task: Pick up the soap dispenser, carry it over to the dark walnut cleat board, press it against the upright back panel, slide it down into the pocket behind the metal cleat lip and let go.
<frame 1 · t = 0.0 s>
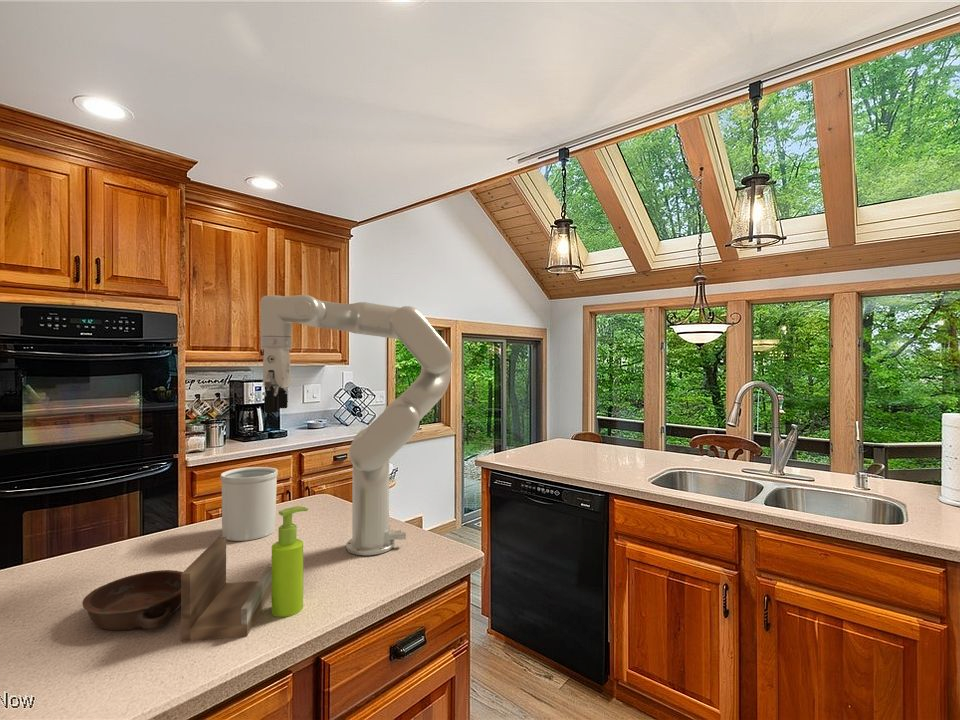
hand: (276, 410, 126), 37 cm above the countertop, tool pointing down, fingers open, 9 cm apart
soap dispenser: (290, 609, 98), on the countertop
utensil holder: (249, 533, 140), on the countertop
dish: (139, 614, 96), on the countertop
cleat board: (231, 612, 96), on the countertop
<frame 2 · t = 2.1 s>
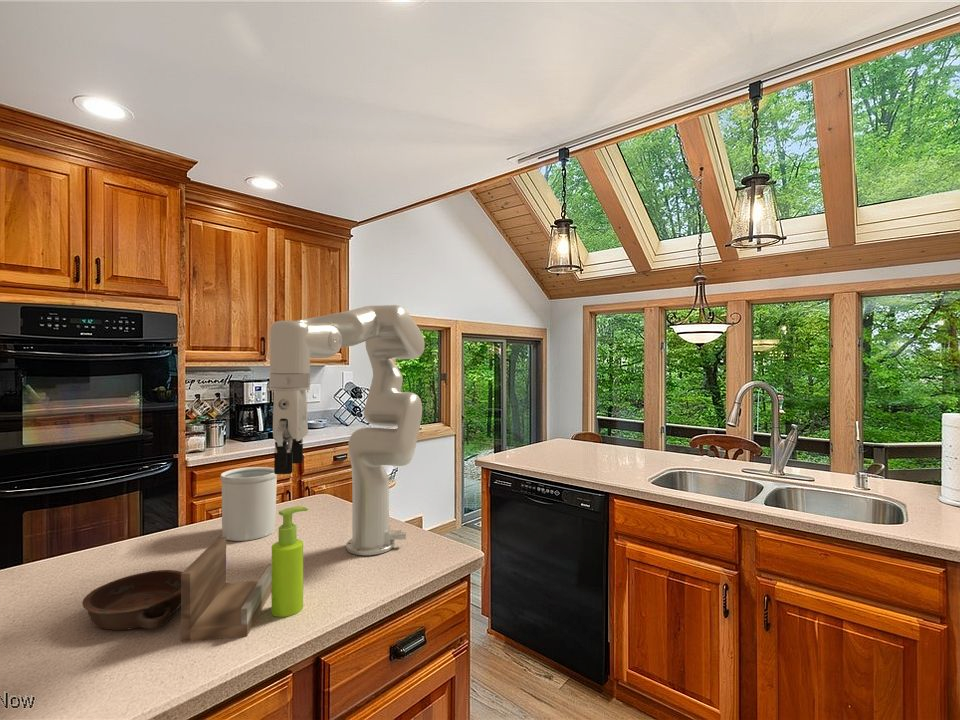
hand: (289, 468, 97), 28 cm above the countertop, tool pointing down, fingers open, 9 cm apart
nothing on the countertop moved.
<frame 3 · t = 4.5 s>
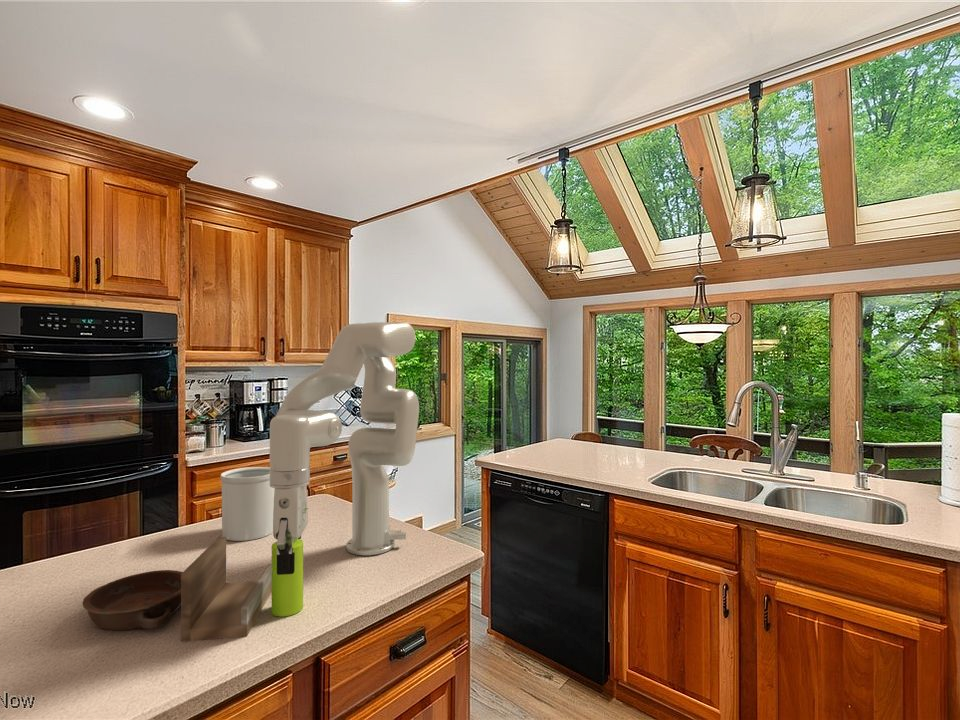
hand: (289, 565, 98), 9 cm above the countertop, tool pointing down, fingers closed on soap dispenser, 5 cm apart
soap dispenser: (290, 609, 98), on the countertop, touching gripper
everything else where it was.
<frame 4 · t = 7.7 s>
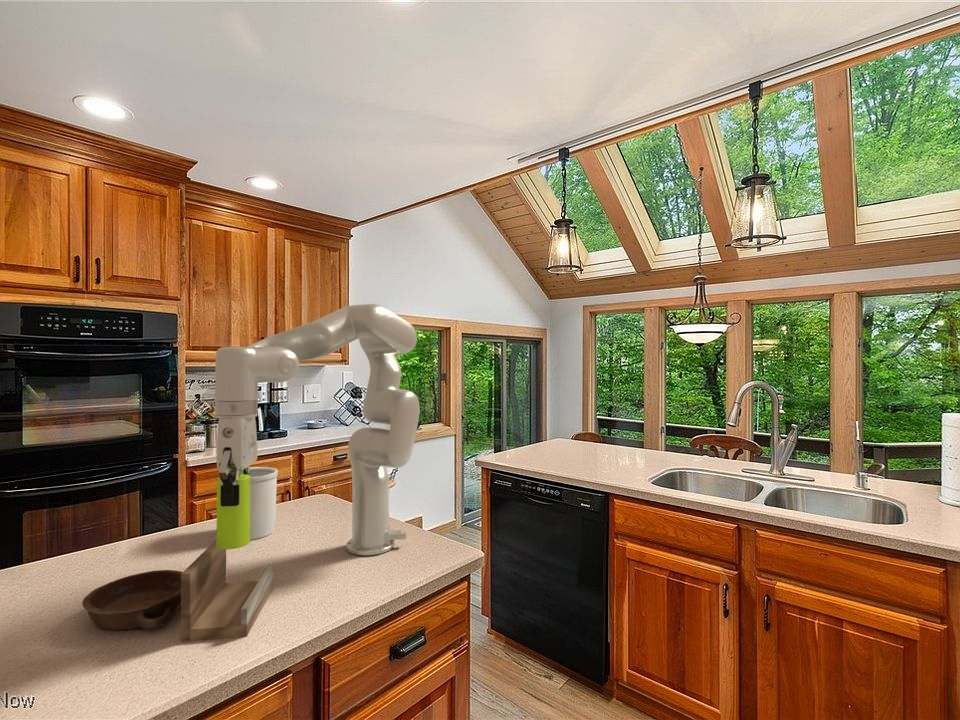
hand: (235, 499, 96), 22 cm above the countertop, tool pointing down, fingers closed on soap dispenser, 5 cm apart
soap dispenser: (236, 544, 96), point 14 cm above the countertop, touching gripper
everything else where it was.
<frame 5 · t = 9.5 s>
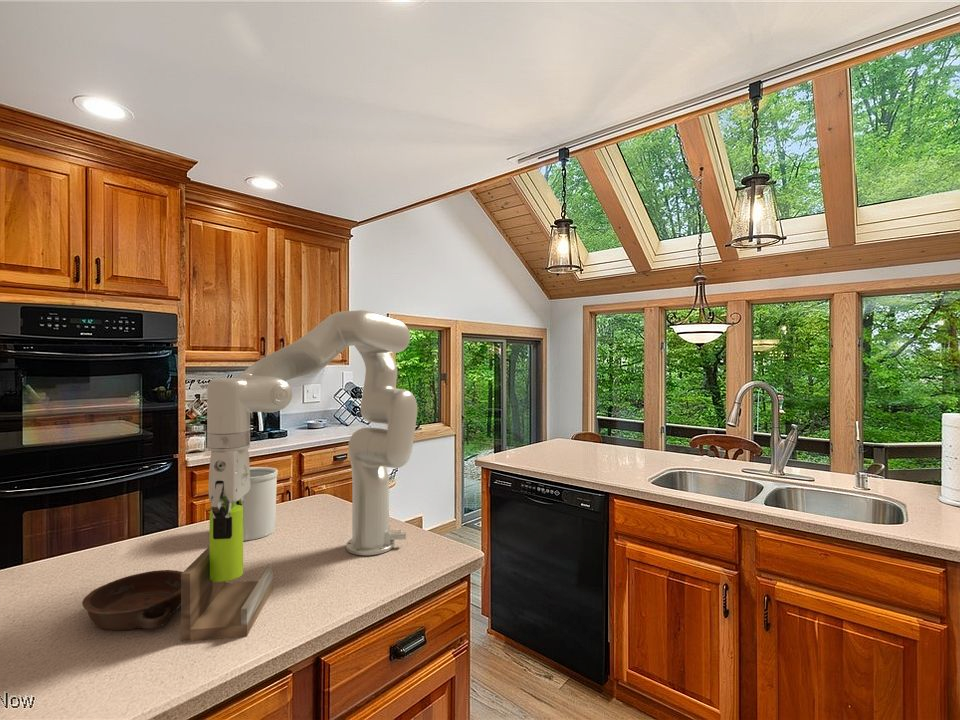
hand: (228, 531, 96), 16 cm above the countertop, tool pointing down, fingers closed on soap dispenser, 5 cm apart
soap dispenser: (229, 575, 96), point 7 cm above the countertop, touching gripper
everything else where it was.
when the fingers open (11 cm above the countertop, at t = 10.9 s): soap dispenser stays where it is, resting on cleat board.
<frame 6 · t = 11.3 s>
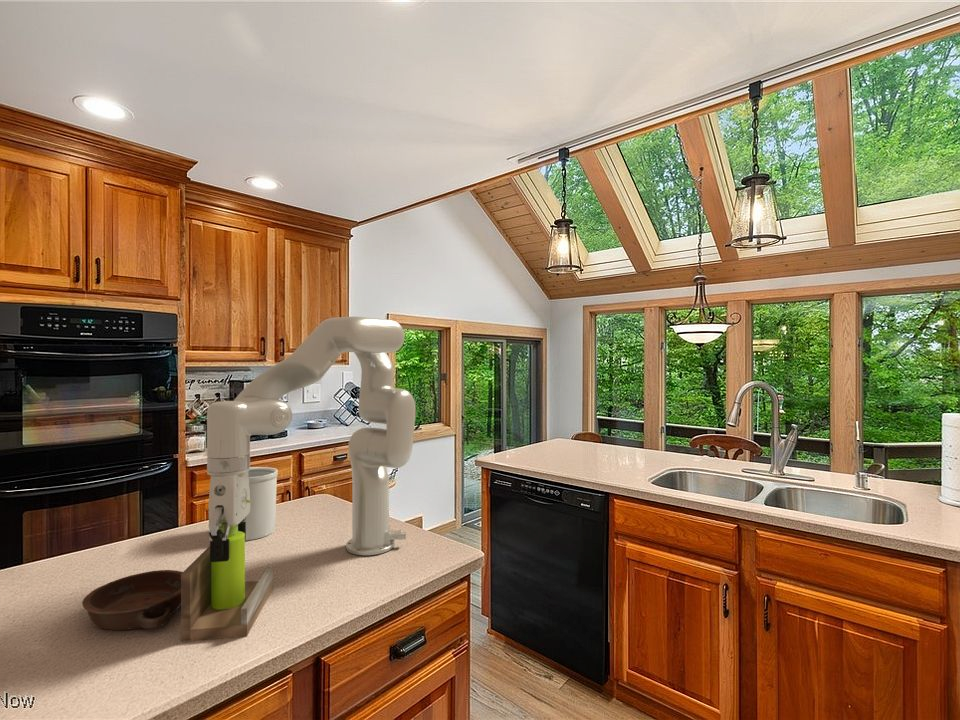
hand: (228, 550, 96), 12 cm above the countertop, tool pointing down, fingers open, 9 cm apart
soap dispenser: (231, 602, 97), point 2 cm above the countertop, touching cleat board
everything else where it was.
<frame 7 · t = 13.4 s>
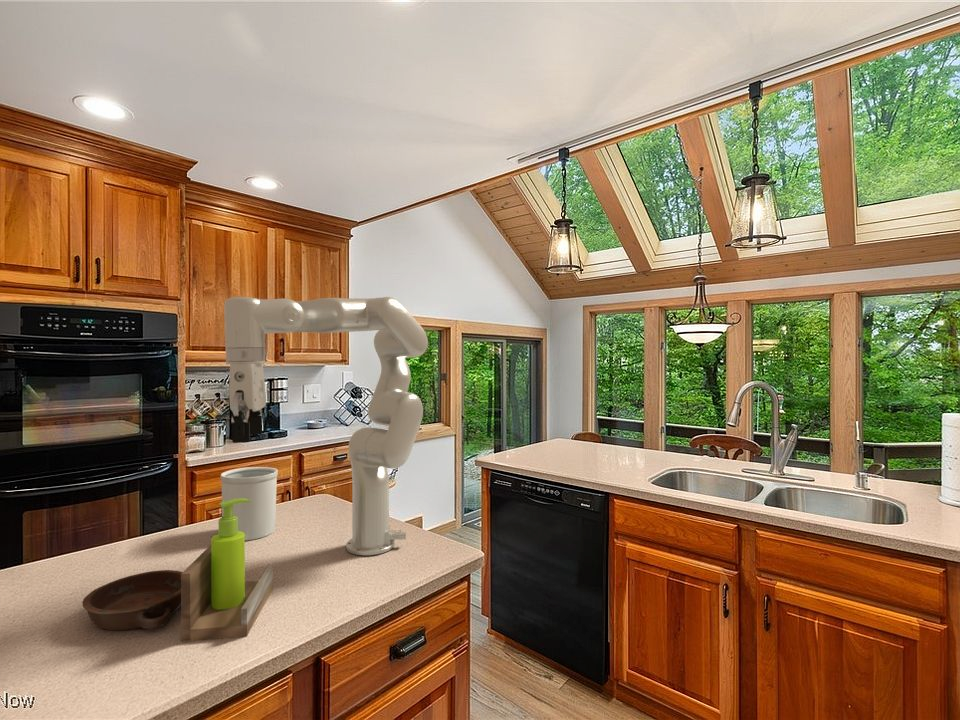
hand: (248, 437, 103), 33 cm above the countertop, tool pointing down, fingers open, 9 cm apart
nothing on the countertop moved.
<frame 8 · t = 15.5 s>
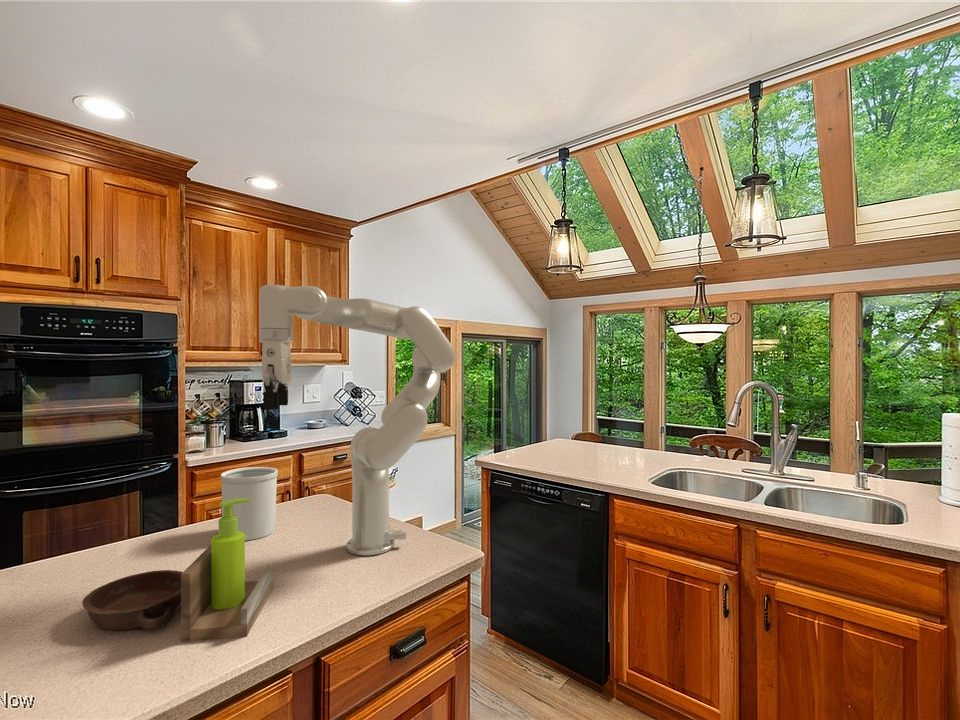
hand: (276, 407, 118), 38 cm above the countertop, tool pointing down, fingers open, 9 cm apart
nothing on the countertop moved.
at the end: soap dispenser inside the target area on the cleat board (0.7 cm from its centre), point 1.8 cm above the cleat board's base; soap dispenser tilted 0°; the gripper is holding nothing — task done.
